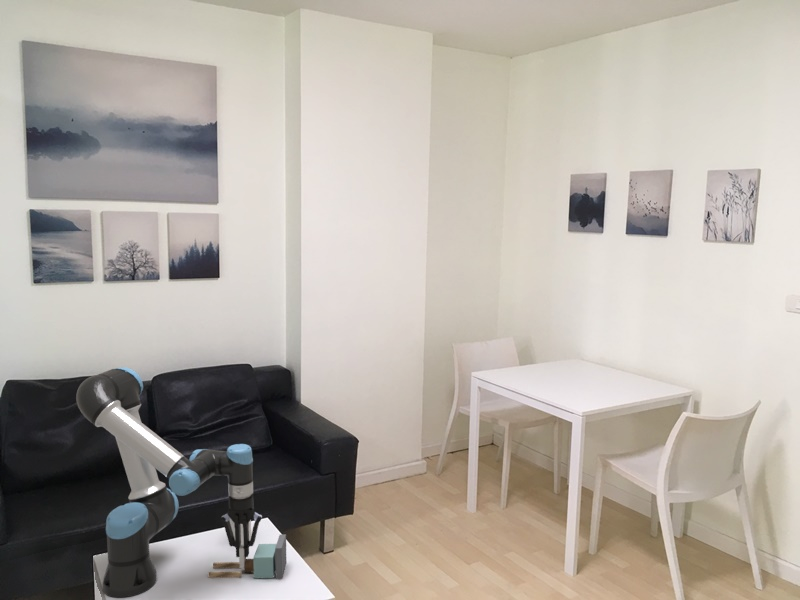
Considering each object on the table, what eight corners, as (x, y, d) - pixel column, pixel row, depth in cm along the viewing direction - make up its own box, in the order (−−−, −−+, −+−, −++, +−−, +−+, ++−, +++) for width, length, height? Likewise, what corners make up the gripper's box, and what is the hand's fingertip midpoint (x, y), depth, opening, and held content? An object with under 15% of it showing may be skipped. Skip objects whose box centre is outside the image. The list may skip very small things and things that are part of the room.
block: (253, 578, 200) (253, 557, 199) (259, 563, 208) (258, 543, 208) (273, 577, 200) (272, 557, 199) (277, 563, 208) (277, 543, 208)
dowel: (244, 574, 202) (244, 561, 202) (246, 569, 206) (246, 556, 206) (269, 574, 202) (269, 561, 202) (272, 569, 206) (272, 556, 206)
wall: (275, 579, 200) (275, 548, 199) (280, 563, 209) (279, 534, 208) (282, 578, 200) (281, 548, 199) (286, 563, 209) (285, 534, 208)
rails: (208, 577, 200) (208, 573, 200) (213, 566, 207) (213, 562, 207) (240, 577, 201) (240, 572, 201) (245, 566, 207) (245, 562, 207)
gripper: (216, 499, 197) (219, 572, 200) (259, 499, 198) (261, 572, 200) (222, 489, 205) (225, 560, 207) (264, 489, 205) (265, 559, 208)
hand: (242, 566), depth 204 cm, fingers closed
